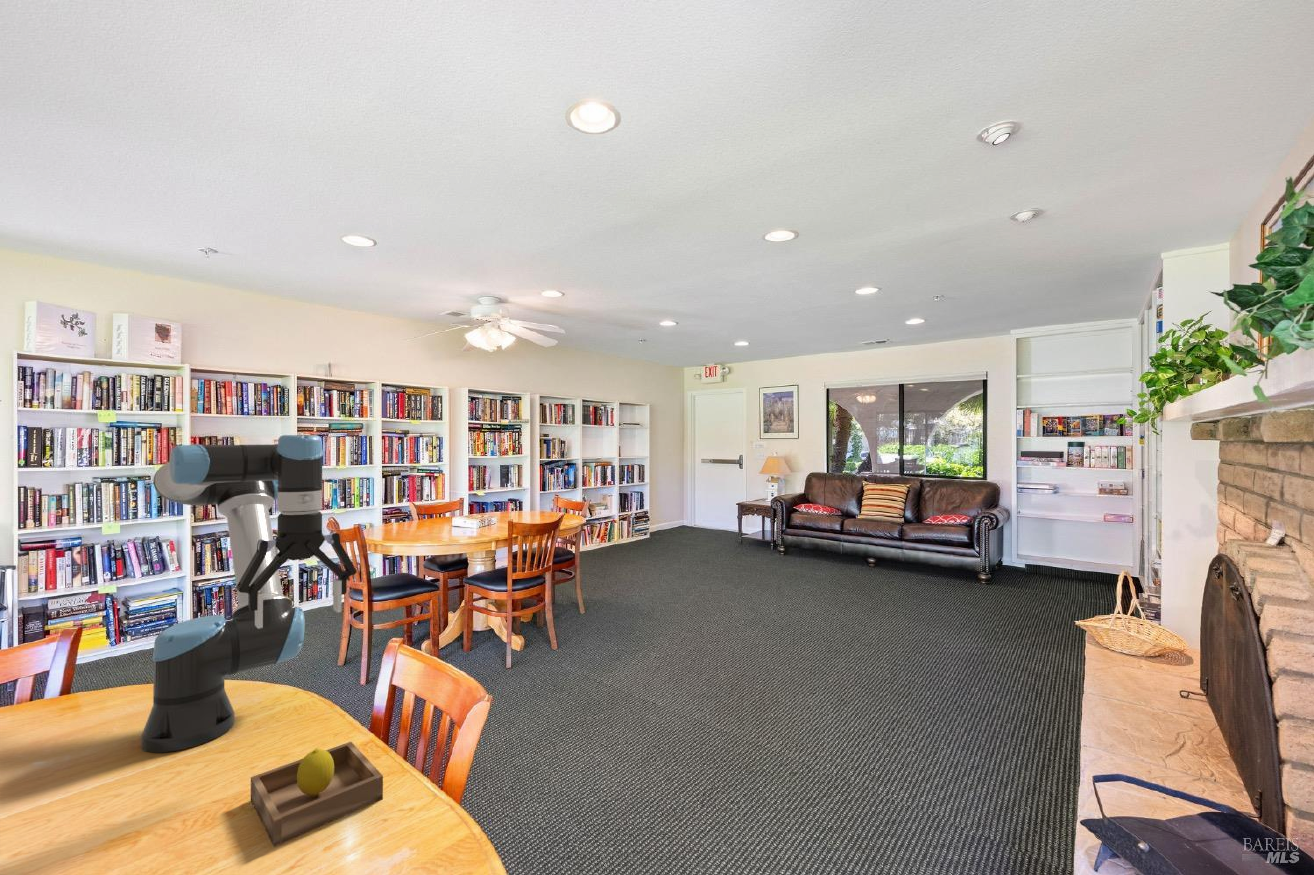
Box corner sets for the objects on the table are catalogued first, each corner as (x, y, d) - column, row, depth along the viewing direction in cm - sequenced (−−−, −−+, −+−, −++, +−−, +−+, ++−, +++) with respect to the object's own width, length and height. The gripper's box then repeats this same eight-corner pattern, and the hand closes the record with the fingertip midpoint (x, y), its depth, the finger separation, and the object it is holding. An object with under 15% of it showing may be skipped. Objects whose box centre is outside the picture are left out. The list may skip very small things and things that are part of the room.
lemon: (316, 808, 94) (316, 759, 94) (288, 803, 95) (289, 756, 95) (341, 788, 99) (341, 742, 99) (314, 784, 100) (315, 739, 101)
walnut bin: (250, 800, 97) (250, 777, 97) (350, 762, 109) (351, 741, 109) (273, 846, 86) (274, 820, 86) (382, 798, 98) (382, 775, 98)
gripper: (226, 520, 101) (225, 639, 100) (373, 508, 119) (372, 608, 119) (218, 516, 106) (217, 629, 106) (360, 505, 124) (360, 601, 124)
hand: (299, 618), depth 112 cm, fingers open, 13 cm apart
